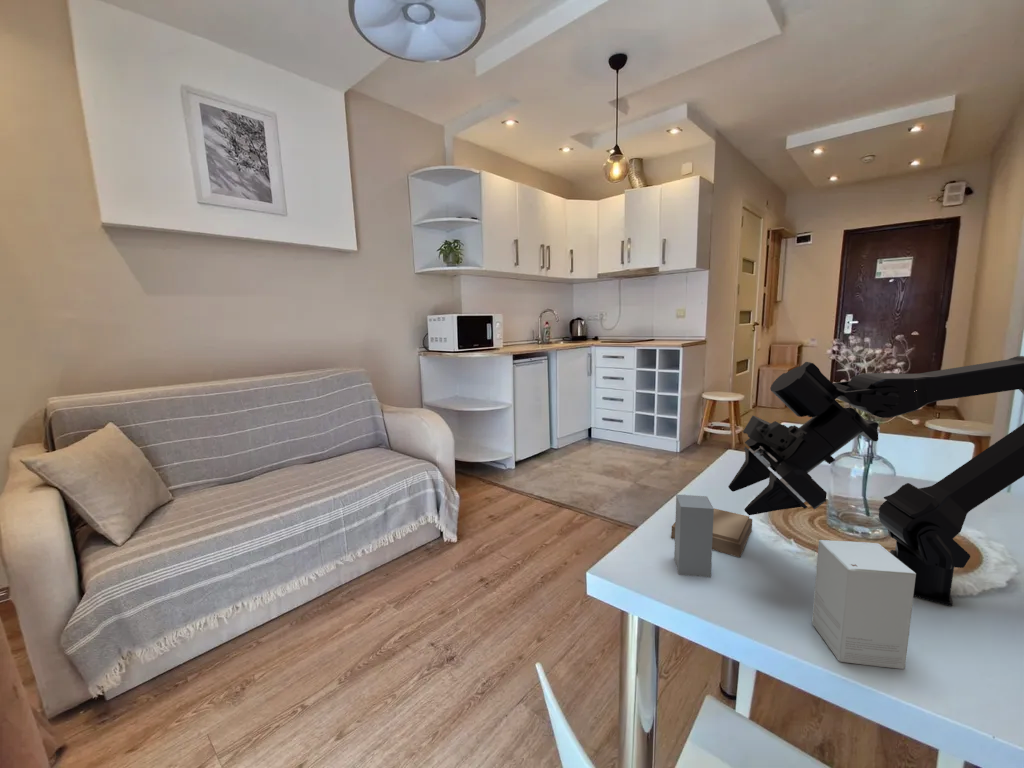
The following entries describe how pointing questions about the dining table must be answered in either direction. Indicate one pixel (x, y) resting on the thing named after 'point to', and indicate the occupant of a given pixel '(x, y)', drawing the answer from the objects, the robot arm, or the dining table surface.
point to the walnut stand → (728, 532)
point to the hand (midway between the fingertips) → (737, 500)
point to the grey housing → (693, 535)
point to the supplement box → (863, 603)
